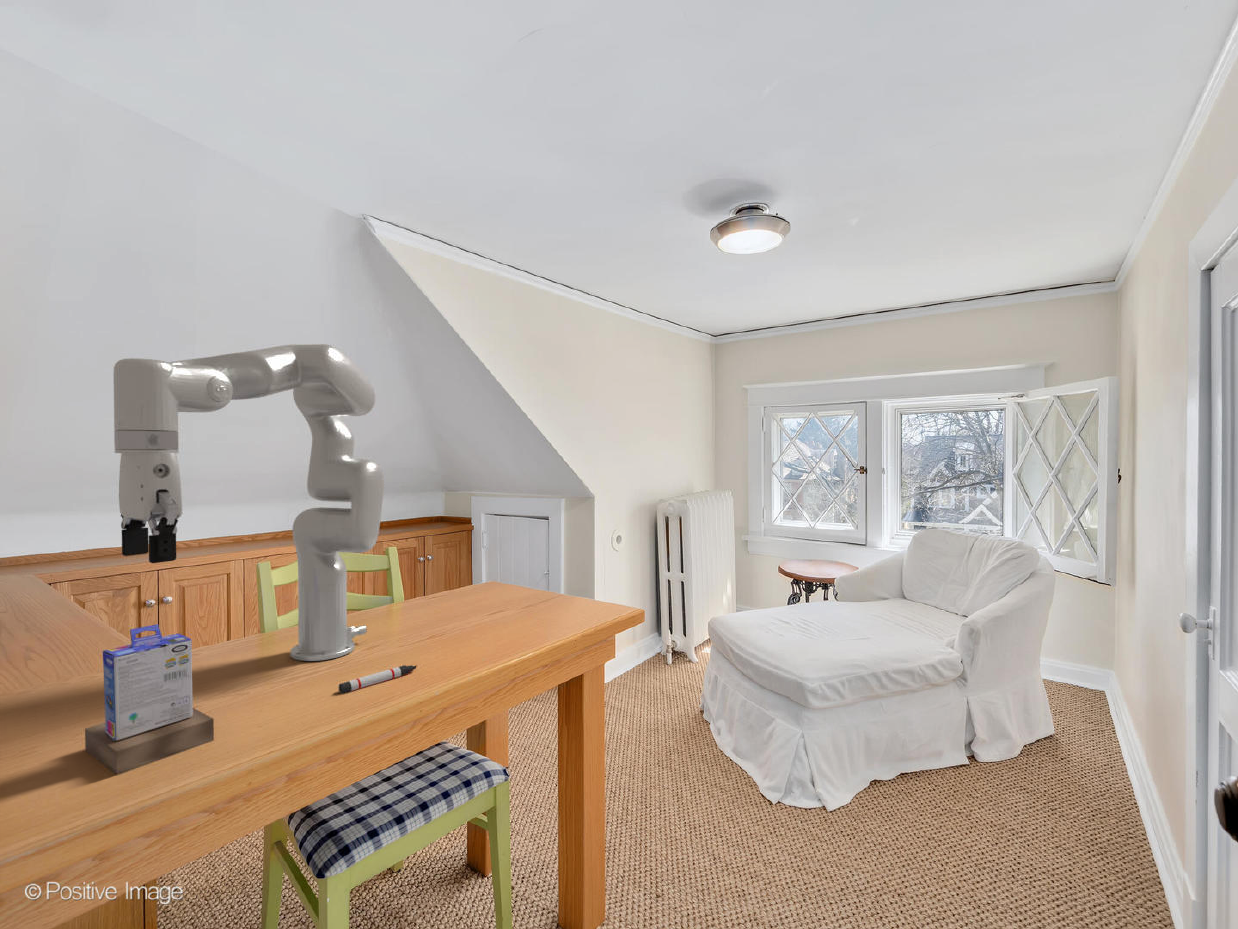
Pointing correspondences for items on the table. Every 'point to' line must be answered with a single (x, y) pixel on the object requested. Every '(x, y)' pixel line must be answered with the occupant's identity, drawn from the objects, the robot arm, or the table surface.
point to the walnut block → (148, 743)
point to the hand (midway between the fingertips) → (148, 558)
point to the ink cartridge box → (147, 683)
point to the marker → (375, 678)
